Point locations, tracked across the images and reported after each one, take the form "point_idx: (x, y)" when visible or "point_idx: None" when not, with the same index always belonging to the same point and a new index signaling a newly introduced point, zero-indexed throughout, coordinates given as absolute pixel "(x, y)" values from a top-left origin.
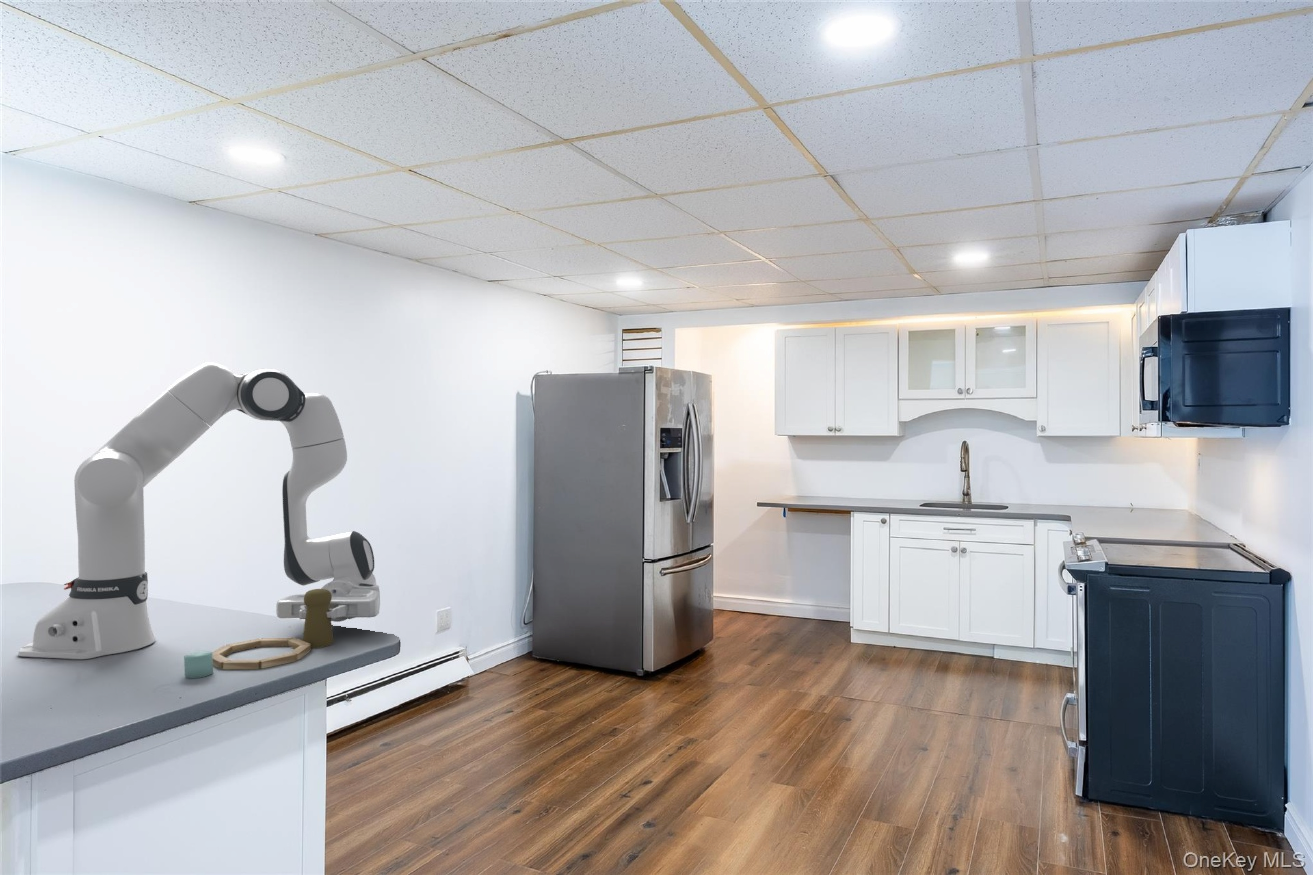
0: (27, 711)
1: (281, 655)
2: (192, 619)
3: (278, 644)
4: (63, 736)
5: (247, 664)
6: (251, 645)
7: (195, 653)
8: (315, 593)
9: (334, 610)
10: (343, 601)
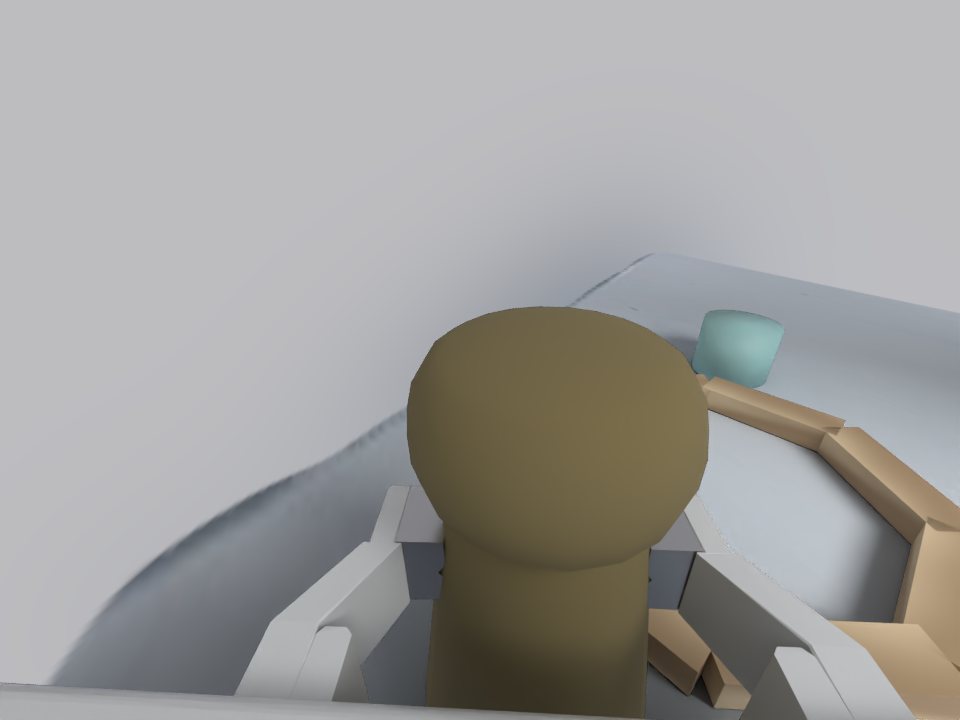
0: (823, 290)
1: None
2: None
3: None
4: (665, 264)
5: None
6: (903, 597)
7: (767, 328)
8: (531, 308)
9: (387, 492)
10: (258, 706)
